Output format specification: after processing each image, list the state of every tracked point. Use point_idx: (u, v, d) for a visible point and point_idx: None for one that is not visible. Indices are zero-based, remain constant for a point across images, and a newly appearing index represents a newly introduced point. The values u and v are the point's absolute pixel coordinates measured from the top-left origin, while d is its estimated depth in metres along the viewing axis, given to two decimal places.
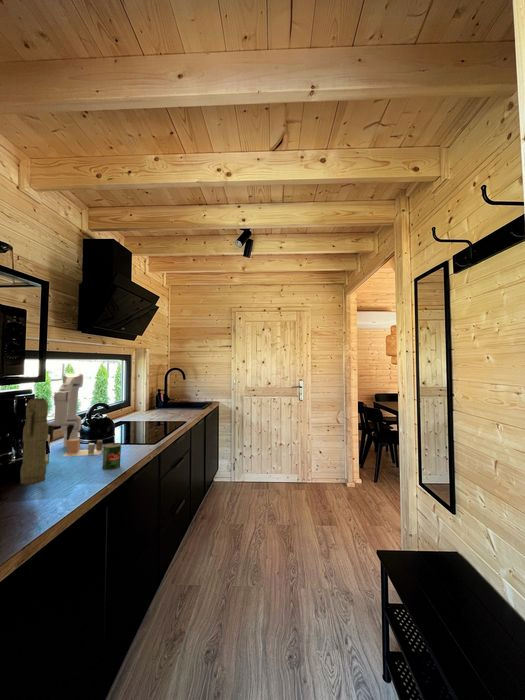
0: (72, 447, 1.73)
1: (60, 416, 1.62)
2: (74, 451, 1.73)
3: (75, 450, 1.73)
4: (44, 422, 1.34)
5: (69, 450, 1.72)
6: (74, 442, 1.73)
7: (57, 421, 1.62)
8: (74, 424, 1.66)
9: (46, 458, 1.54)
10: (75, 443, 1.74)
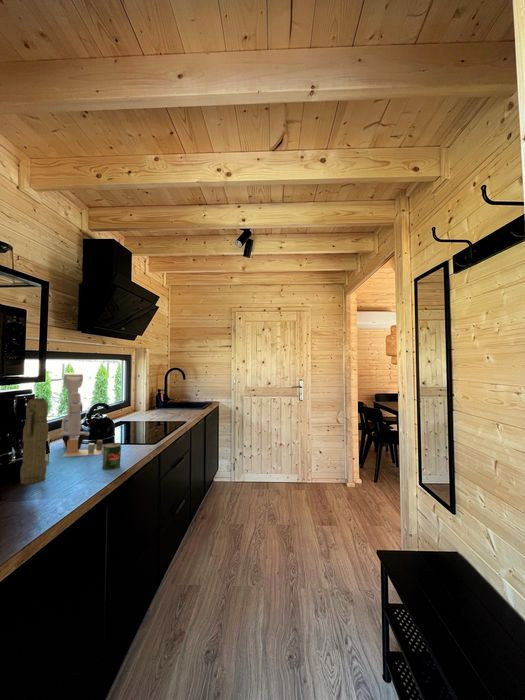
0: (72, 447, 1.73)
1: (74, 427, 1.74)
2: (74, 451, 1.73)
3: (75, 450, 1.73)
4: (44, 422, 1.34)
5: (69, 450, 1.72)
6: (74, 442, 1.73)
7: (71, 431, 1.73)
8: (87, 434, 1.77)
9: (46, 458, 1.54)
10: (75, 443, 1.74)
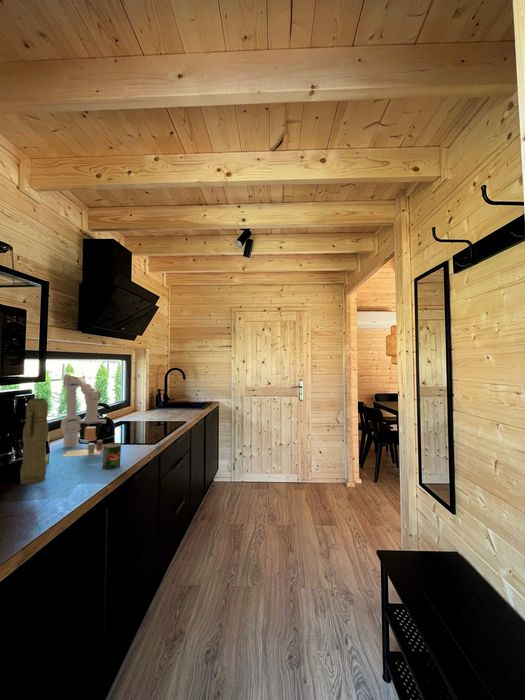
0: (89, 434, 1.72)
1: (92, 414, 1.72)
2: (92, 439, 1.72)
3: (93, 438, 1.72)
4: (44, 422, 1.34)
5: (87, 437, 1.71)
6: (92, 430, 1.72)
7: (89, 419, 1.72)
8: (104, 422, 1.76)
9: (46, 458, 1.54)
10: (93, 431, 1.72)
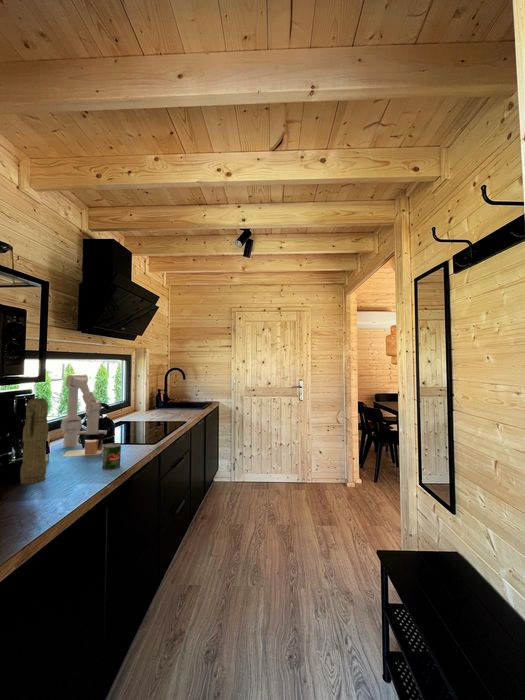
0: (90, 448, 1.71)
1: (92, 425, 1.72)
2: (92, 452, 1.71)
3: (93, 451, 1.72)
4: (44, 422, 1.34)
5: (87, 451, 1.71)
6: (92, 443, 1.72)
7: (89, 430, 1.71)
8: (105, 433, 1.75)
9: (46, 458, 1.54)
10: (93, 444, 1.72)
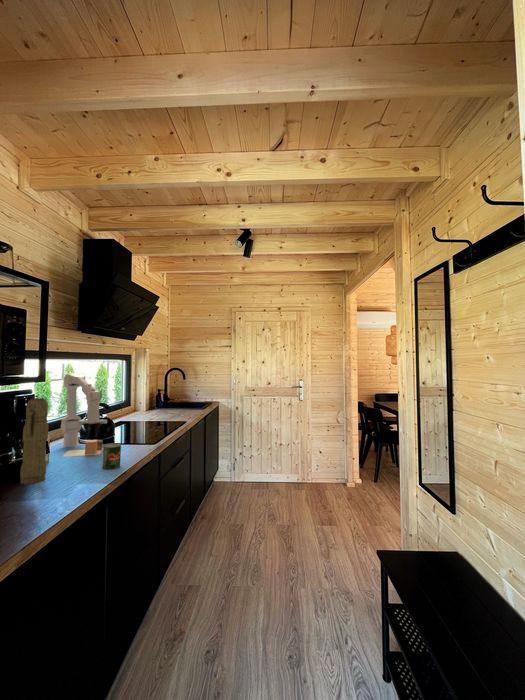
0: (90, 448, 1.71)
1: (93, 414, 1.72)
2: (92, 452, 1.71)
3: (93, 451, 1.72)
4: (44, 422, 1.34)
5: (87, 451, 1.71)
6: (92, 443, 1.72)
7: (90, 419, 1.72)
8: (105, 422, 1.76)
9: (46, 458, 1.54)
10: (93, 444, 1.72)
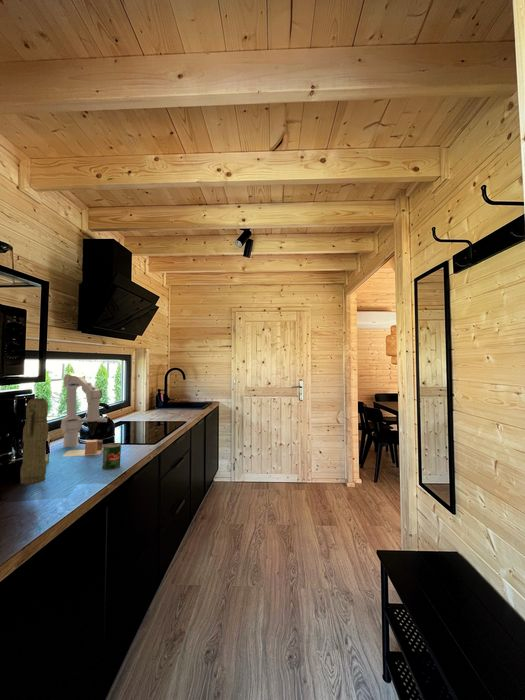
0: (90, 448, 1.71)
1: (93, 413, 1.72)
2: (92, 452, 1.71)
3: (93, 451, 1.72)
4: (44, 422, 1.34)
5: (87, 451, 1.71)
6: (92, 443, 1.72)
7: (90, 417, 1.72)
8: (105, 420, 1.76)
9: (46, 458, 1.54)
10: (93, 444, 1.72)
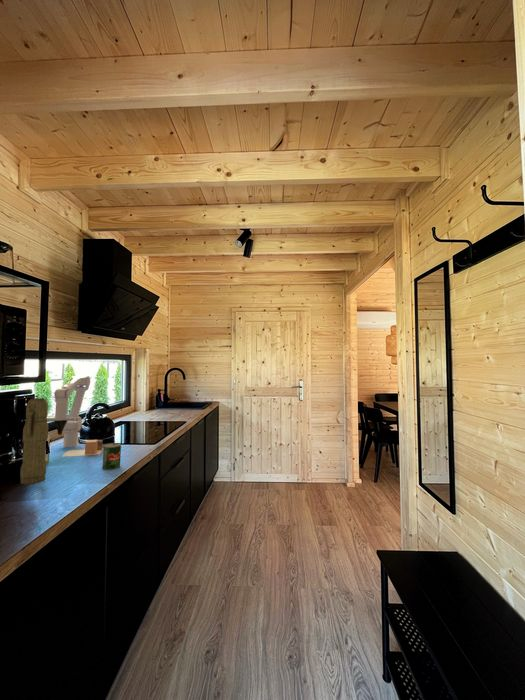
0: (90, 448, 1.71)
1: (61, 411, 1.73)
2: (92, 452, 1.71)
3: (93, 451, 1.72)
4: (44, 422, 1.34)
5: (87, 451, 1.71)
6: (92, 443, 1.72)
7: (58, 416, 1.72)
8: (74, 419, 1.76)
9: (46, 458, 1.54)
10: (93, 444, 1.72)
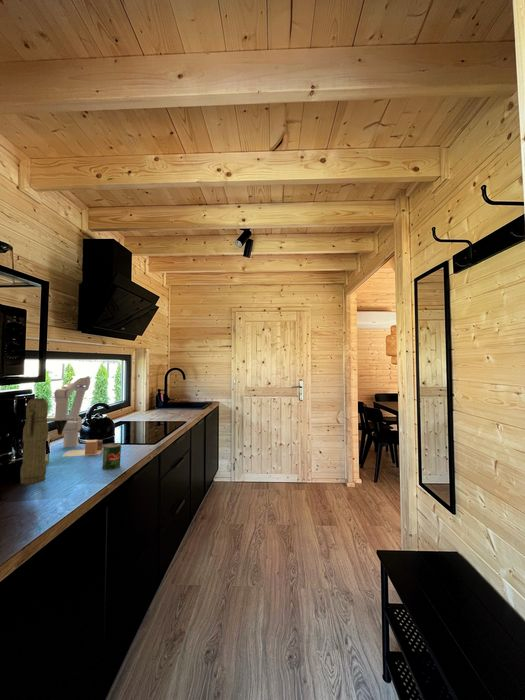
0: (90, 448, 1.71)
1: (61, 411, 1.73)
2: (92, 452, 1.71)
3: (93, 451, 1.72)
4: (44, 422, 1.34)
5: (87, 451, 1.71)
6: (92, 443, 1.72)
7: (58, 416, 1.72)
8: (74, 419, 1.76)
9: (46, 458, 1.54)
10: (93, 444, 1.72)
